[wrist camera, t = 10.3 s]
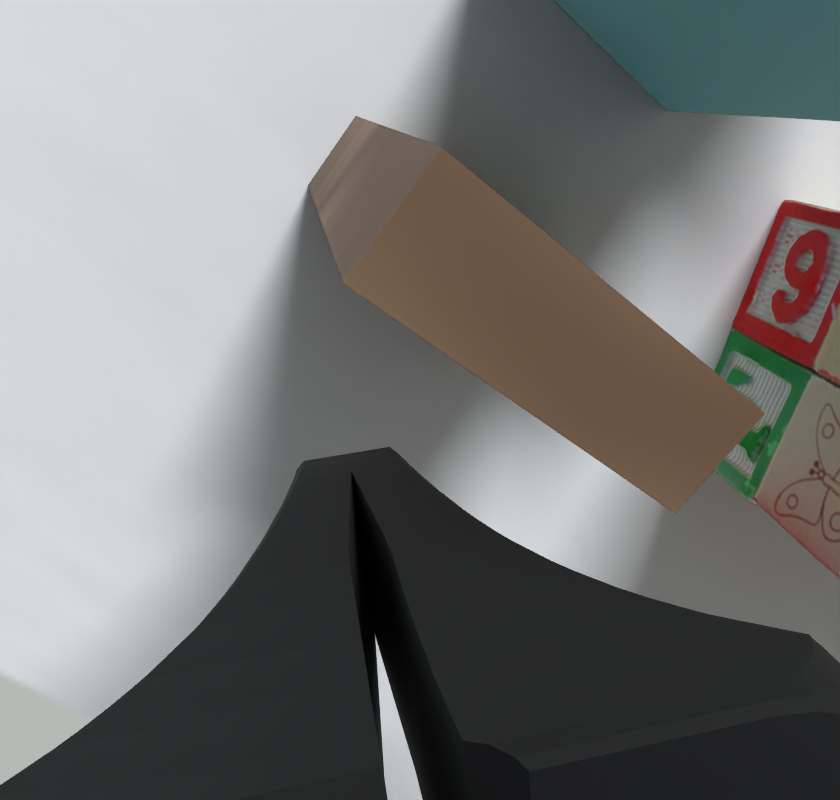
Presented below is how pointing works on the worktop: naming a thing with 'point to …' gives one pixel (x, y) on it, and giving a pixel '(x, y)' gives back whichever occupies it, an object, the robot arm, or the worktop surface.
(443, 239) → the walnut domino
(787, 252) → the stack of blocks
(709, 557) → the worktop surface
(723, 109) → the teal domino
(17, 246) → the worktop surface
